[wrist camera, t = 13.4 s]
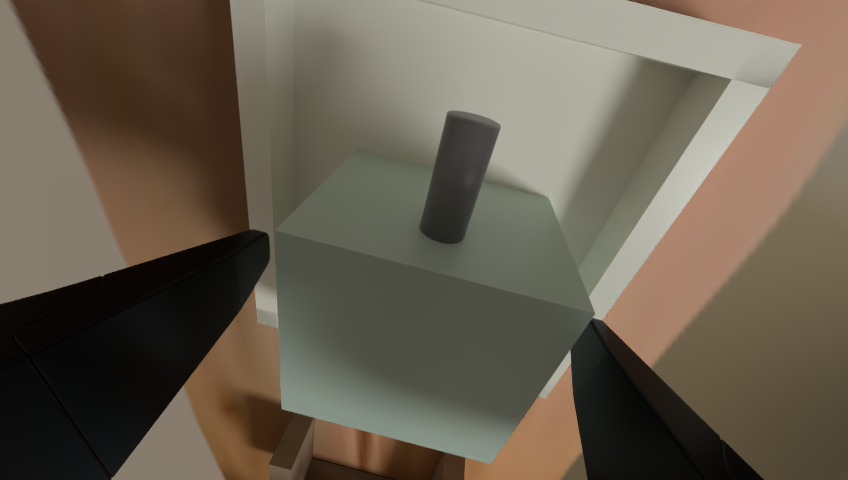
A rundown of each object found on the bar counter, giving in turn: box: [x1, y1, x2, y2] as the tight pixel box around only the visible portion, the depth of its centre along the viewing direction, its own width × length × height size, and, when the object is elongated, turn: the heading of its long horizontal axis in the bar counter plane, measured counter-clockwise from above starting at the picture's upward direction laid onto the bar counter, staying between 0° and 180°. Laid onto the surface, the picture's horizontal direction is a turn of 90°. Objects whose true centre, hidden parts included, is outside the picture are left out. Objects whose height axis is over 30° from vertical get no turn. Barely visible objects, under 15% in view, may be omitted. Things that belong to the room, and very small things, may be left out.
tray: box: [230, 0, 802, 398], centre depth 11 cm, size 12×12×2 cm
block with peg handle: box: [274, 111, 595, 464], centre depth 9 cm, size 8×6×5 cm
